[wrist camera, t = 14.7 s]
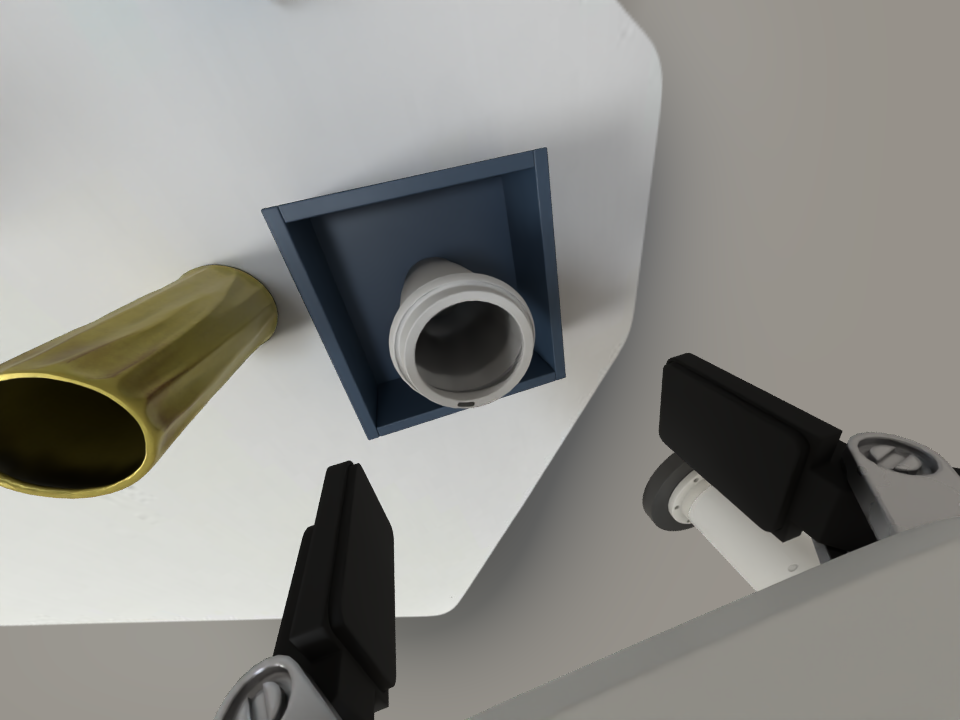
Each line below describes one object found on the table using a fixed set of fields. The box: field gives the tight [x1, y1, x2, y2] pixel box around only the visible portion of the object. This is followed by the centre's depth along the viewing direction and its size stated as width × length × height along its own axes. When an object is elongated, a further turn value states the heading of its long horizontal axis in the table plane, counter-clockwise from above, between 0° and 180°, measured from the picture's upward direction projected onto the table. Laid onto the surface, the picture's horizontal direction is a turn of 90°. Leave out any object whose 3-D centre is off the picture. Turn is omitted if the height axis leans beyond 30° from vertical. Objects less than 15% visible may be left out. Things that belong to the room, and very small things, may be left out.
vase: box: [0, 265, 278, 499], centre depth 17 cm, size 6×6×14 cm
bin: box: [261, 147, 566, 440], centre depth 23 cm, size 15×15×7 cm
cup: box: [389, 257, 535, 408], centre depth 20 cm, size 7×7×12 cm
